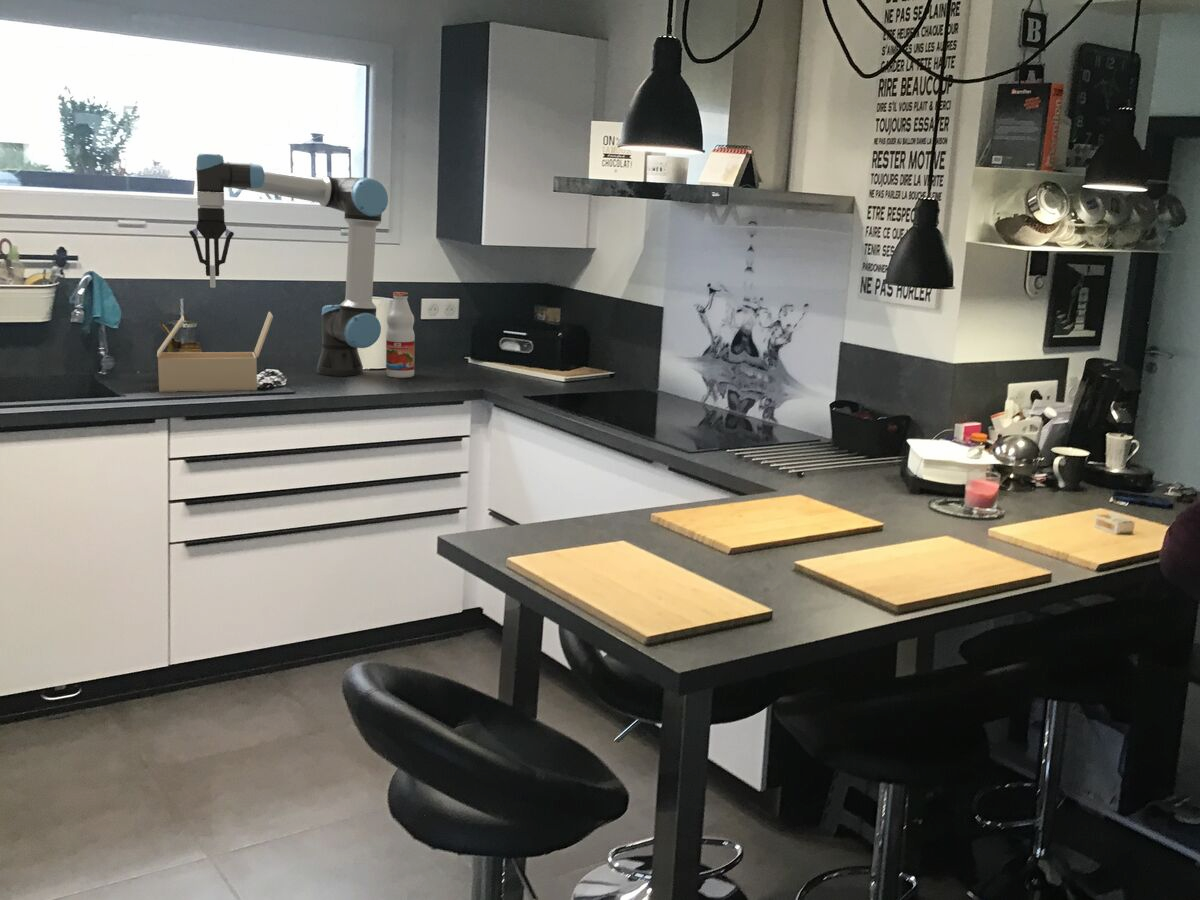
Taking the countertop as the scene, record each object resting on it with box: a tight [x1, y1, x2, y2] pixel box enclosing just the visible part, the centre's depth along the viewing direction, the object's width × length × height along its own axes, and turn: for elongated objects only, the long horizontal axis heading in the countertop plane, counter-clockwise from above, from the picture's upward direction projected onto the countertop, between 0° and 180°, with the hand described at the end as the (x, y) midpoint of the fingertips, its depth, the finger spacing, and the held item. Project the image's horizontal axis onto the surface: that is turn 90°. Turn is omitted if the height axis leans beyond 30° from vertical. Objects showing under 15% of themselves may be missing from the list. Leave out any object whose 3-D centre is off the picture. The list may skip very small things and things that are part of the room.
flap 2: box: [253, 311, 274, 358], centre depth 363 cm, size 13×12×1 cm
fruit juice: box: [385, 291, 416, 379], centre depth 395 cm, size 9×9×28 cm
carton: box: [157, 351, 258, 393], centre depth 360 cm, size 28×13×10 cm, turn 109°
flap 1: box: [156, 315, 185, 358], centre depth 354 cm, size 13×12×1 cm
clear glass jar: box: [158, 321, 203, 353], centre depth 374 cm, size 9×14×18 cm, turn 105°
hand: (212, 287), depth 355 cm, fingers closed
